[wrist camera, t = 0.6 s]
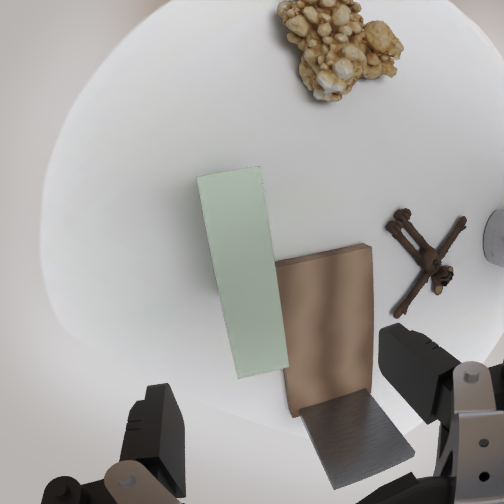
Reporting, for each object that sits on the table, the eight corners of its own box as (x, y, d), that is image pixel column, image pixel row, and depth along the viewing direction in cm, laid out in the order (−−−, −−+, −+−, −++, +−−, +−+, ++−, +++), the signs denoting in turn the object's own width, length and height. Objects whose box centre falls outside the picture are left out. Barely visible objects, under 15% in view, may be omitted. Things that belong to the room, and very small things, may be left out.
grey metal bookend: (365, 387, 40) (415, 451, 26) (365, 392, 40) (413, 456, 26) (298, 408, 38) (334, 485, 25) (299, 413, 39) (333, 489, 25)
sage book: (231, 172, 32) (259, 166, 17) (251, 288, 36) (289, 366, 20) (198, 178, 32) (196, 176, 17) (220, 294, 35) (238, 378, 20)
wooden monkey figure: (438, 166, 33) (489, 240, 36) (420, 168, 38) (471, 236, 40) (355, 279, 35) (421, 341, 37) (342, 271, 39) (406, 330, 41)
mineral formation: (308, 115, 32) (240, 8, 27) (380, 79, 34) (323, -12, 29) (352, 99, 25) (267, -30, 20) (424, 65, 27) (358, -40, 22)
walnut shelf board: (363, 243, 37) (371, 246, 35) (365, 385, 42) (371, 392, 40) (267, 263, 35) (271, 268, 33) (288, 409, 41) (292, 418, 39)
